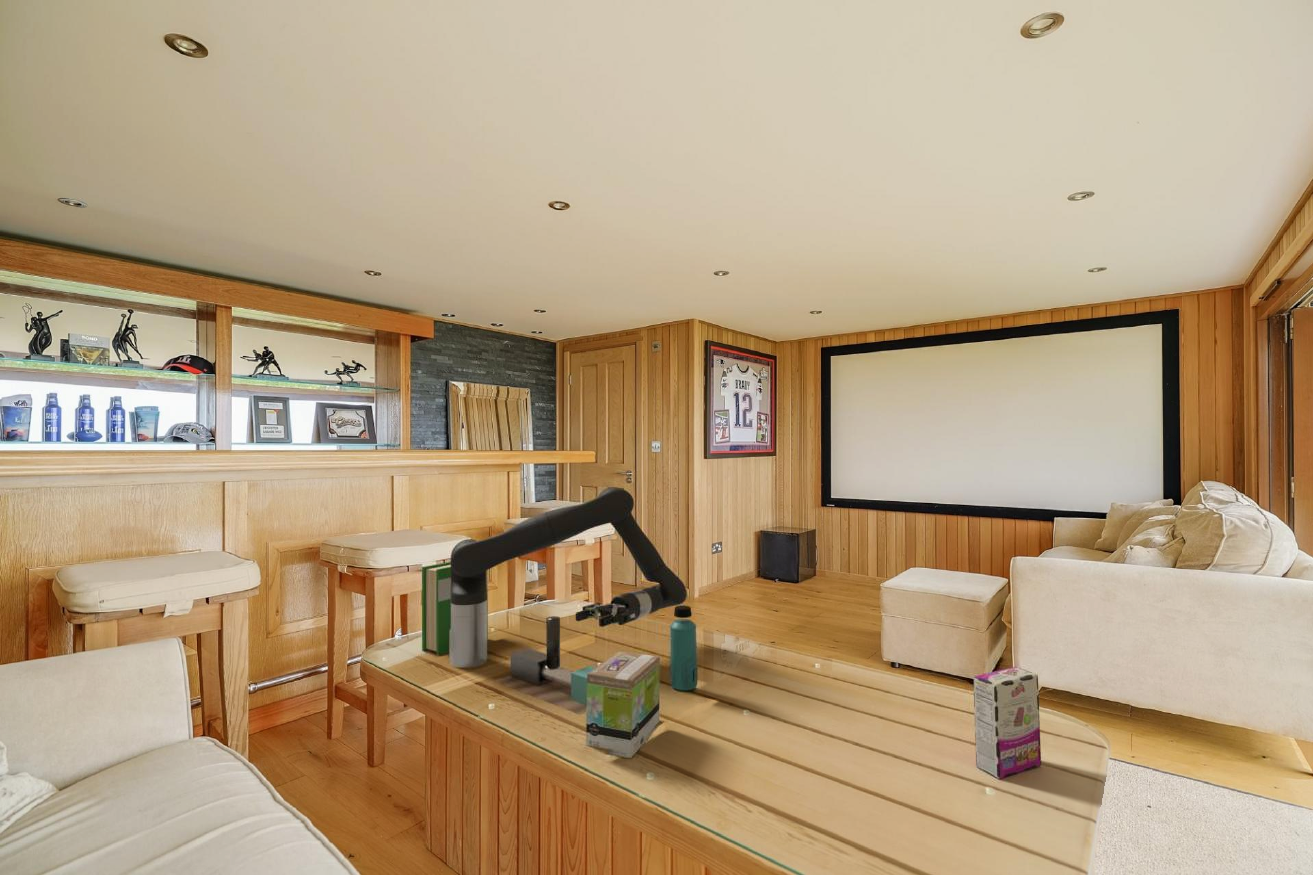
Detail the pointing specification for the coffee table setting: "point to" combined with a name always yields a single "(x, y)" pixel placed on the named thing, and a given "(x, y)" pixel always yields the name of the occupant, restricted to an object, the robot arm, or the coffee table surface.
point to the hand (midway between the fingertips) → (588, 619)
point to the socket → (580, 685)
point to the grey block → (528, 666)
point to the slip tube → (554, 655)
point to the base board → (546, 693)
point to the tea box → (623, 702)
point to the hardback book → (438, 607)
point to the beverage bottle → (683, 650)
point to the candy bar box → (1007, 722)
